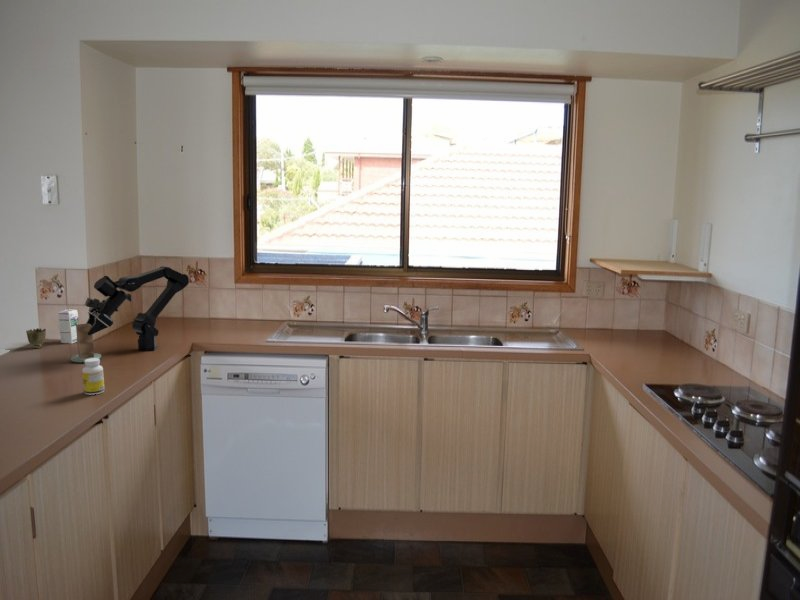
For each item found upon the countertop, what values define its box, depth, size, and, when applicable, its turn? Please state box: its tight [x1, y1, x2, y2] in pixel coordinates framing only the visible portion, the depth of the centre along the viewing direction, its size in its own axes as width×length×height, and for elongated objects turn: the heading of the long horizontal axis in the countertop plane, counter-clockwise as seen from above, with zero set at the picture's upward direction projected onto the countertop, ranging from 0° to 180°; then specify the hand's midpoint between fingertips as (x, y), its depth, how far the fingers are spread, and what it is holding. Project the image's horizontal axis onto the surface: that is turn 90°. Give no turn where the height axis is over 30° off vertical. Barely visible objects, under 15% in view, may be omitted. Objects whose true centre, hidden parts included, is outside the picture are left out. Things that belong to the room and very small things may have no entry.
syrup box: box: [57, 308, 80, 345], centre depth 298 cm, size 6×6×14 cm
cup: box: [25, 327, 47, 349], centre depth 288 cm, size 8×7×8 cm
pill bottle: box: [82, 358, 106, 396], centre depth 227 cm, size 6×6×12 cm
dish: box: [70, 352, 102, 364], centre depth 269 cm, size 11×11×1 cm
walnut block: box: [76, 323, 95, 359], centre depth 268 cm, size 5×5×13 cm
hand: (86, 332), depth 268 cm, fingers open, 9 cm apart
